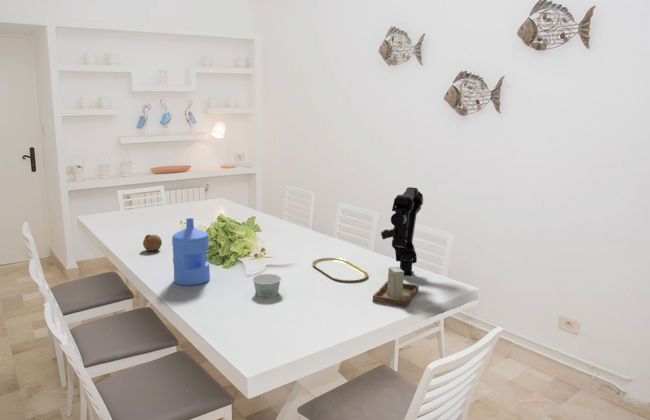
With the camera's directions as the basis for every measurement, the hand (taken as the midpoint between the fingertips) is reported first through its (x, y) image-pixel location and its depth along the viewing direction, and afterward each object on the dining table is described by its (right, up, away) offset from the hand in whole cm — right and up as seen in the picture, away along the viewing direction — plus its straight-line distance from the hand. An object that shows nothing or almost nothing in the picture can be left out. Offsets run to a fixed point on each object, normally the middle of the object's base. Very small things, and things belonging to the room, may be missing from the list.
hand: (397, 259), depth 222 cm
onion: (-124, 0, +47) cm, 132 cm away
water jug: (-92, -10, +4) cm, 92 cm away
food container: (-56, -14, -10) cm, 59 cm away
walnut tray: (-2, -14, -11) cm, 18 cm away
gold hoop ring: (-25, -8, +21) cm, 33 cm away
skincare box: (-3, -15, -13) cm, 20 cm away
